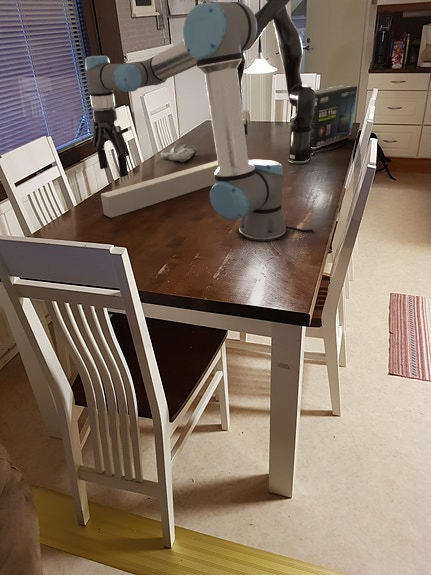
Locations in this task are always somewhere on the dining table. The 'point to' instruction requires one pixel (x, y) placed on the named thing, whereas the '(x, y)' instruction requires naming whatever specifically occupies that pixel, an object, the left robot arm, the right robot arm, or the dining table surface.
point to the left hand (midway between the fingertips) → (113, 172)
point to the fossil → (179, 152)
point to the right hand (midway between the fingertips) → (233, 143)
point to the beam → (158, 189)
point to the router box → (332, 114)
